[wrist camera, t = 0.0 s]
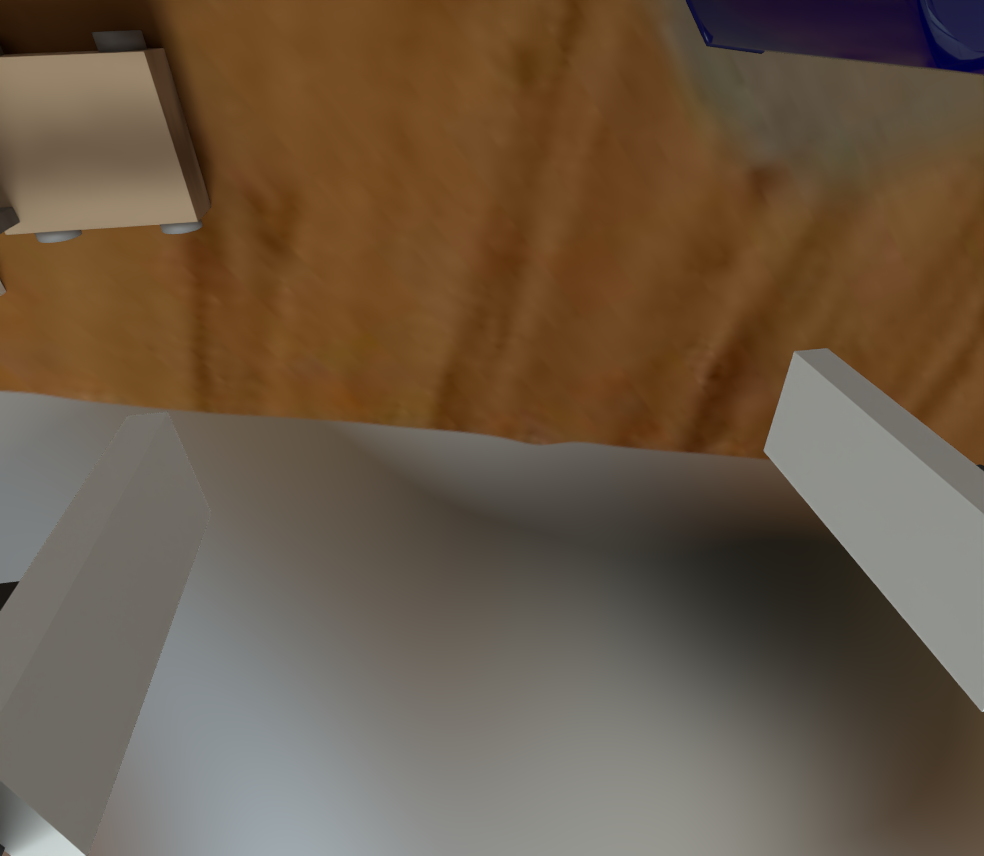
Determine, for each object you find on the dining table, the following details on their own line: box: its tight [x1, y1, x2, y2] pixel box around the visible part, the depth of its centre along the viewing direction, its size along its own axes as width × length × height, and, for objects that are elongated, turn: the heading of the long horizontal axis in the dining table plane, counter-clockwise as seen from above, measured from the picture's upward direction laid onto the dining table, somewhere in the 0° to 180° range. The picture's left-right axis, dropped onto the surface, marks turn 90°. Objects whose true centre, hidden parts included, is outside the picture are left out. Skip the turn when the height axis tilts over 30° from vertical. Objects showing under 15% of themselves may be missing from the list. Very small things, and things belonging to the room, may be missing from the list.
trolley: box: [0, 30, 211, 243], centre depth 28 cm, size 10×10×10 cm
